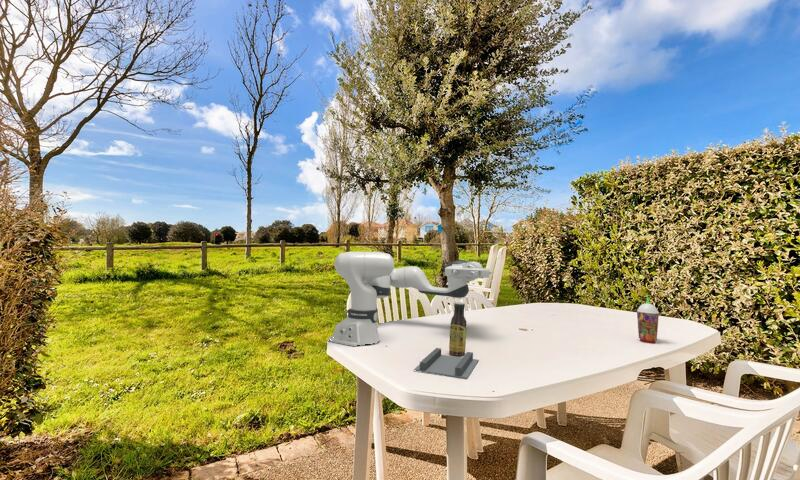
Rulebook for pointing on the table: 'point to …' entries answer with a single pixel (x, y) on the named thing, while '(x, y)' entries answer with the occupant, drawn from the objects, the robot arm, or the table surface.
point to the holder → (448, 364)
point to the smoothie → (647, 322)
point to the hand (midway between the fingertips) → (463, 273)
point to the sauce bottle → (458, 331)
